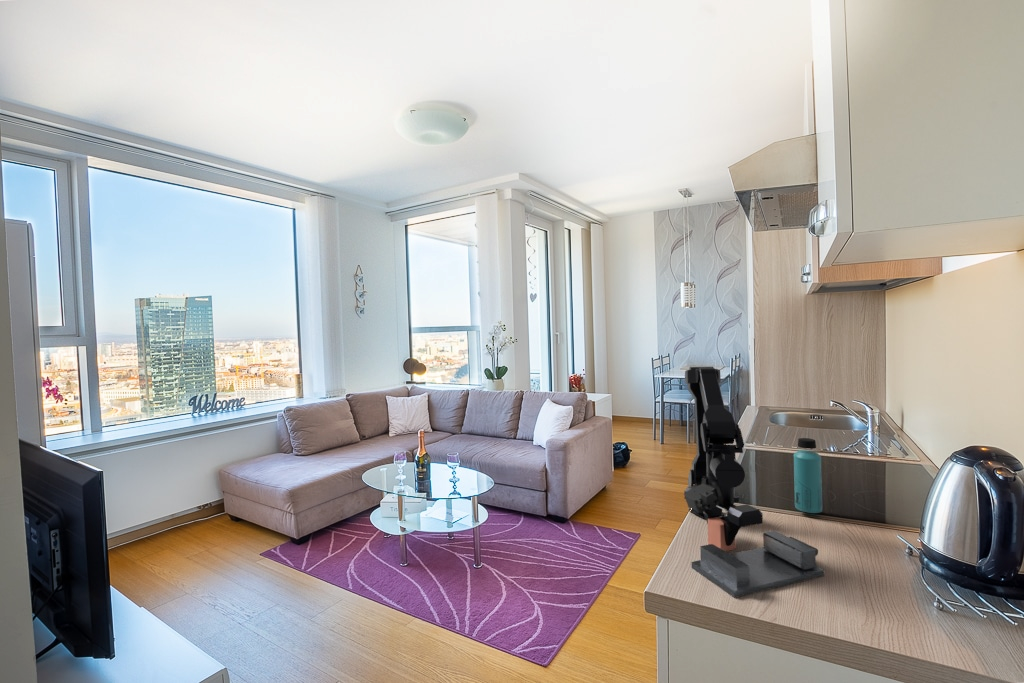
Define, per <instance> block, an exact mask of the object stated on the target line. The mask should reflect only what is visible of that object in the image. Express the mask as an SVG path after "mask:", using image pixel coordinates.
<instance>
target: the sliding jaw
mask: <svg viewBox="0 0 1024 683" xmlns="http://www.w3.org/2000/svg"><path fill="white" fill-rule="evenodd" d="M762 534H763V541H762V542H763V547H764V549H766V550H768V551H770V552H771V553H773V554H775V555H777V556H779V557H781V558H783V559H785V560H787V561H789V562H790V563H792V564H794V565H796V566H798V567H800V568H802V569H804V570H805V569H810V568H814V567H816V566H817V564H816V562H817V560H816V557H817V555H818V554H819V550H818V548H817V547H815V546H812V545H810V544H807V543H806V542H804V541H802V540H799V539H797V538H795V537H793V536H787V535H784V534H783V533H781V532H779V531H777V530H775V529H773V530H769V531H765V532H763V533H762Z"/></svg>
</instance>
